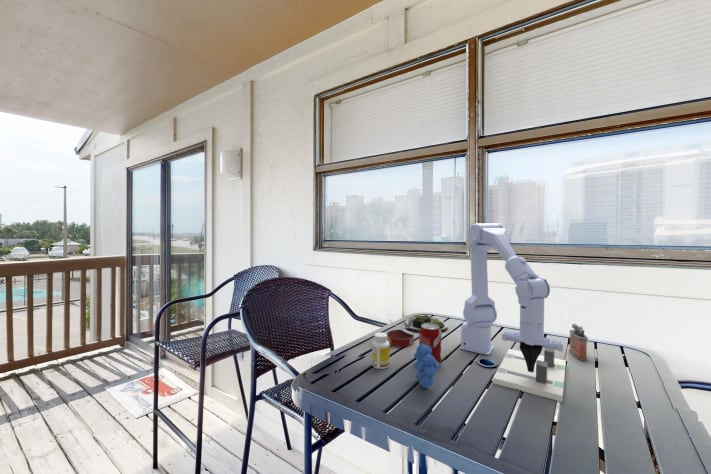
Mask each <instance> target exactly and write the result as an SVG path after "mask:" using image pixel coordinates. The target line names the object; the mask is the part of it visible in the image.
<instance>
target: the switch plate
mask: <svg viewBox="0 0 711 474" xmlns="http://www.w3.org/2000/svg"><path fill="white" fill-rule="evenodd" d="M537 360H540V361H544V355H541V354H540V355H539V356H538V358H537ZM537 360H536V363H535V366H534V372H533V373H532V372H528V369H527V364H526V361H525V358H524V356H523V354H522V352H521V350H517V349H511V348H508V349H507V351H506V354H505V355H504V357H503V359H502V361H501V363H500V364H499V366H498V368H497V369H496V372H495V374H494V375H493V376H492V377H493V378H492V383H493V384H494V385H498V386H502V387H506V388H508V389H513V388H514V389H513V390H516V389H519V390H518V391H520V390H521V391H520V392H524V393H528V394H532V395H535V396H539V397H543V398H547V399H550V400H554V401H558V402H561V403H563V401H564V400H563V397H564V388H565V379H566V378H565V377H566V367H567V363H566V362H567V361H566V360H565V359H560V358H557V357H554V367H550V366H548V373H547V382H546V383H542V382H538V381H536V364H537Z"/></svg>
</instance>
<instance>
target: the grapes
mask: <svg viewBox="0 0 711 474" xmlns="http://www.w3.org/2000/svg"><path fill="white" fill-rule="evenodd" d="M431 352H432V350H431V348H430V347H429V346H427V345H424V344H420V345H419V344H418V345H417V347H416V349H415V353H414V354H413V357H414V358H415V359H416V361H415V362H414V364H413V368H414V369H415V370H416V371H417V373H416V374H415V376H414V377H415V379H416V380H417V381H419V382H418V384H419V385H420V386H421V387H422V388H423V389H427V388H431V387H432V386H433V385H434V383H435V382H436V381H435V379H434V377H435V376H436V374H437V370H439V369H438V368H439V367H440V365H441V364H439V363H438V362H437V361H436V359H435V358H434V357H433V356H432V355H431Z"/></svg>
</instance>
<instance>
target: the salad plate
mask: <svg viewBox="0 0 711 474" xmlns="http://www.w3.org/2000/svg"><path fill="white" fill-rule="evenodd" d="M424 323H433V324H437V325H439V329H440V331H441V333H444V332H446V331H447V330H448V328H449V326H448V324H447V323H445V322H444V321H443V320H442V319H440V318H437V317H430V316H429V315H427V314H425V315H422V314H421V313H420V314H416V315H414V317H412V318H411V317H410V318H407V319H405V324H406V325H405V328H406V329H409V331H410V330H411V331H412V332H415V333H419V330H420V328H421V325H422V324H424Z"/></svg>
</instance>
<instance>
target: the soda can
mask: <svg viewBox="0 0 711 474" xmlns="http://www.w3.org/2000/svg"><path fill="white" fill-rule="evenodd" d="M420 344H424V345H427V346H429V347H430V348H431V350H432V352H431V355H432V356H433V357H434V358H435V359H436V361H437V362H438V363H439V364H440V365H441V364H442V332H441V331H440V329H439V325H437V324H433V323H432V322H431V323H424V324H422V325H421V328H420V330H419V332H418V346H419V345H420Z"/></svg>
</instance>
